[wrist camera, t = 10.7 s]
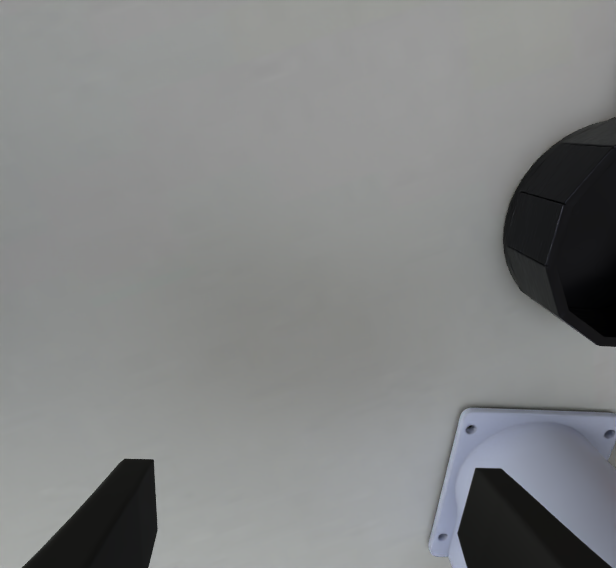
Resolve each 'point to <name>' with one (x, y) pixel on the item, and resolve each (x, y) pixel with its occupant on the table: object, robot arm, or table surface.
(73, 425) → the table surface
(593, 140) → the pan
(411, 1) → the table surface
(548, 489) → the robot arm
